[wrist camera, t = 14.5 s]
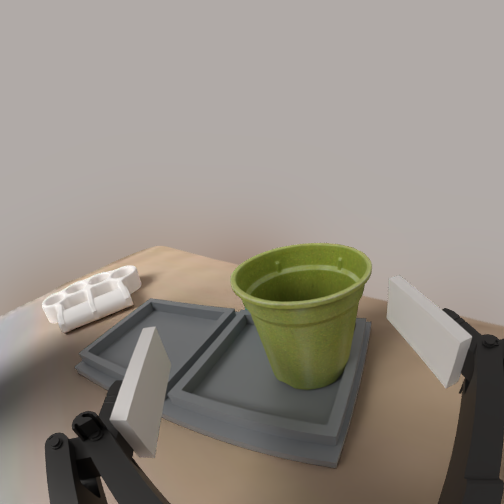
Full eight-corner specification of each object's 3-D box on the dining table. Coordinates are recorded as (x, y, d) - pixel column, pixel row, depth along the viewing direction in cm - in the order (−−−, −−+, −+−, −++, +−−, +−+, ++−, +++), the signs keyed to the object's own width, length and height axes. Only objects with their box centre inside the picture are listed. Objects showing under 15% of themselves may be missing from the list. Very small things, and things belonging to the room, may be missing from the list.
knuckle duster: (47, 346, 32) (51, 308, 43) (156, 302, 40) (134, 275, 52) (37, 326, 30) (44, 292, 42) (149, 281, 39) (129, 259, 51)
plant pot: (250, 340, 27) (231, 254, 24) (347, 321, 27) (344, 234, 24) (255, 417, 18) (227, 316, 15) (385, 388, 18) (397, 282, 15)
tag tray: (77, 372, 26) (53, 328, 24) (158, 306, 38) (145, 267, 36) (336, 468, 13) (340, 417, 12) (370, 328, 26) (372, 274, 24)
